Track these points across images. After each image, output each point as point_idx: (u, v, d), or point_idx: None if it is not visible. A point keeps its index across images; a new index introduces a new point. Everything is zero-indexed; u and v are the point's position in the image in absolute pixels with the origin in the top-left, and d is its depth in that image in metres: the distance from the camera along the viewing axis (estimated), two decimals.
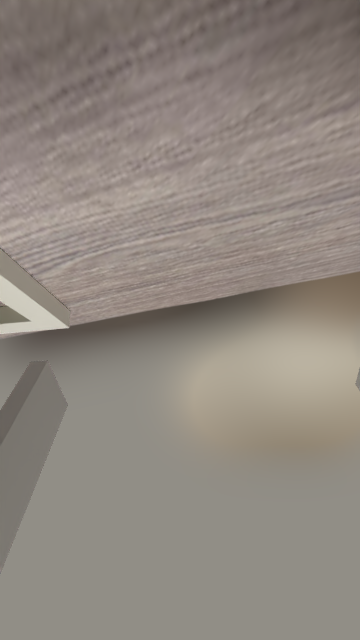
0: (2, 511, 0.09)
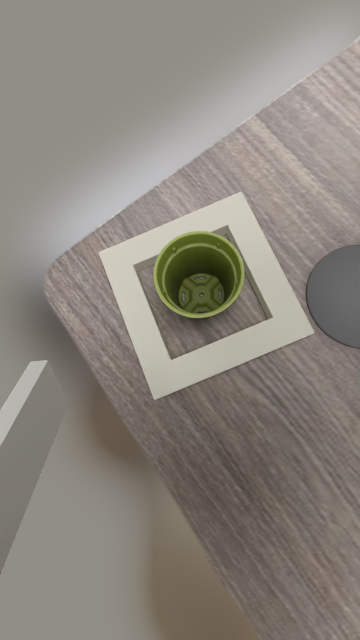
0: (2, 511, 0.09)
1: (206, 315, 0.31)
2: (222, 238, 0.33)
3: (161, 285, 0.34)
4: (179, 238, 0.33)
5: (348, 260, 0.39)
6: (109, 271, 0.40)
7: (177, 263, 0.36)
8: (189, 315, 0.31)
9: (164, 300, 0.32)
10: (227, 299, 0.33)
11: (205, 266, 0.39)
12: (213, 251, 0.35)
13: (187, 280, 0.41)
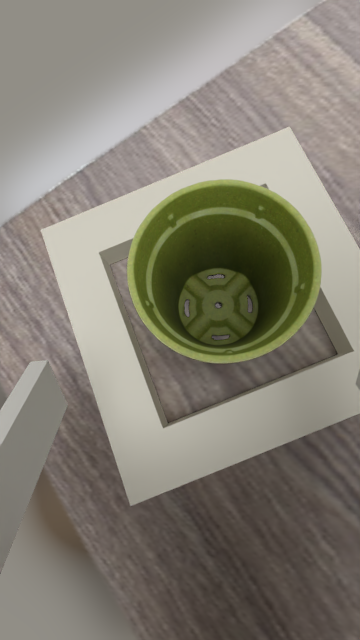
0: (2, 511, 0.09)
1: (239, 358, 0.14)
2: (271, 194, 0.16)
3: (144, 290, 0.17)
4: (181, 194, 0.16)
5: None
6: (57, 263, 0.23)
7: (176, 248, 0.19)
8: (202, 357, 0.14)
9: (148, 323, 0.15)
10: (278, 320, 0.16)
11: (226, 255, 0.22)
12: (246, 224, 0.18)
13: (194, 279, 0.24)
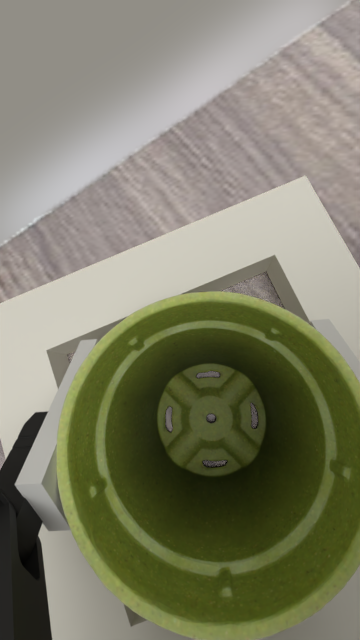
0: None
1: (245, 634, 0.08)
2: (293, 320, 0.10)
3: (90, 463, 0.10)
4: (148, 314, 0.10)
5: None
6: None
7: (148, 365, 0.13)
8: (179, 627, 0.08)
9: (88, 551, 0.09)
10: (304, 513, 0.10)
11: (221, 356, 0.16)
12: (250, 339, 0.12)
13: (178, 380, 0.17)
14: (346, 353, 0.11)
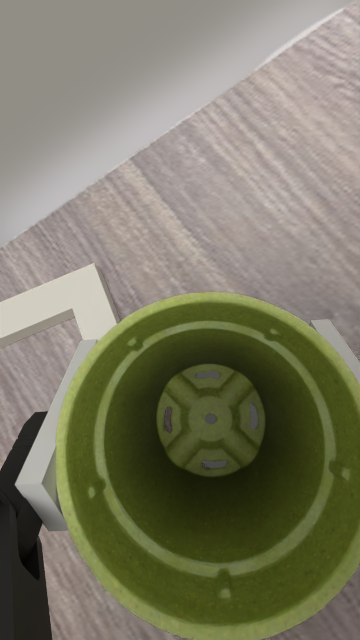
0: None
1: (243, 636, 0.08)
2: (293, 320, 0.10)
3: (89, 464, 0.10)
4: (147, 315, 0.10)
5: None
6: None
7: (147, 366, 0.13)
8: (177, 628, 0.08)
9: (86, 553, 0.09)
10: (303, 514, 0.10)
11: (220, 356, 0.16)
12: (249, 340, 0.12)
13: (177, 381, 0.17)
14: (346, 353, 0.11)
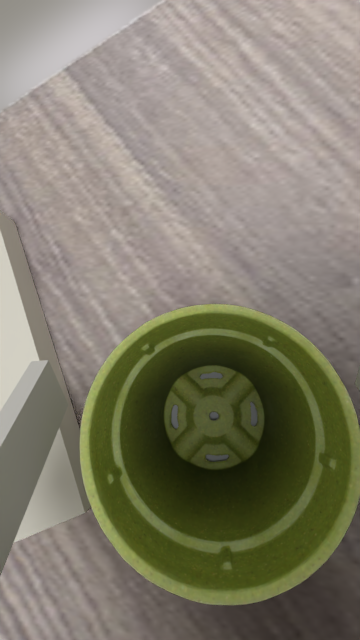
0: (3, 511, 0.09)
1: (242, 599, 0.09)
2: (287, 330, 0.11)
3: (107, 454, 0.12)
4: (159, 324, 0.11)
5: None
6: None
7: (157, 367, 0.15)
8: (186, 593, 0.10)
9: (108, 529, 0.10)
10: (296, 499, 0.12)
11: (223, 358, 0.17)
12: (249, 345, 0.13)
13: (183, 381, 0.19)
14: None
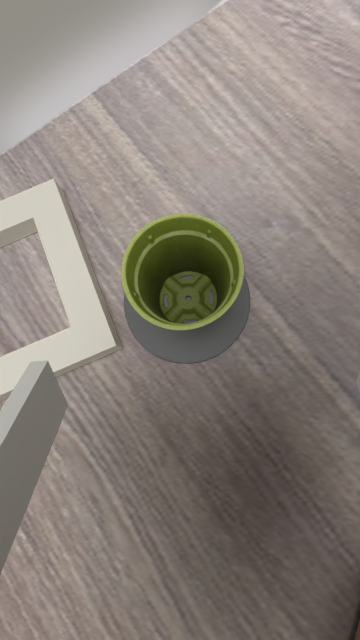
0: (2, 511, 0.09)
1: (192, 326, 0.23)
2: (214, 223, 0.24)
3: (132, 286, 0.25)
4: (156, 223, 0.25)
5: None
6: None
7: (155, 257, 0.28)
8: (169, 326, 0.23)
9: (135, 306, 0.24)
10: (220, 304, 0.25)
11: (192, 262, 0.31)
12: (202, 241, 0.27)
13: (170, 280, 0.32)
14: None
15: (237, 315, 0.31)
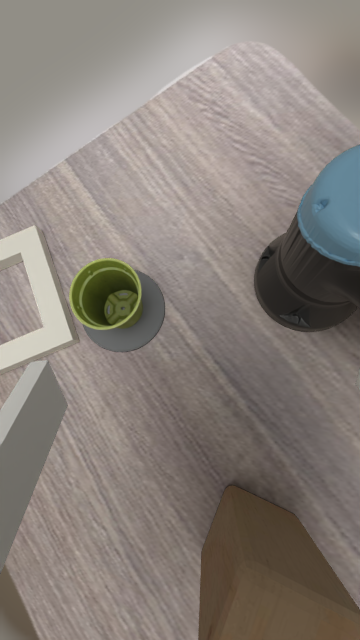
0: (2, 511, 0.09)
1: (108, 328, 0.38)
2: (126, 264, 0.40)
3: (77, 302, 0.41)
4: (92, 264, 0.41)
5: None
6: None
7: (96, 283, 0.44)
8: (95, 327, 0.39)
9: (76, 315, 0.39)
10: None
11: (124, 284, 0.46)
12: (124, 273, 0.42)
13: (112, 295, 0.48)
14: None
15: (155, 320, 0.47)
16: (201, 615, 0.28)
